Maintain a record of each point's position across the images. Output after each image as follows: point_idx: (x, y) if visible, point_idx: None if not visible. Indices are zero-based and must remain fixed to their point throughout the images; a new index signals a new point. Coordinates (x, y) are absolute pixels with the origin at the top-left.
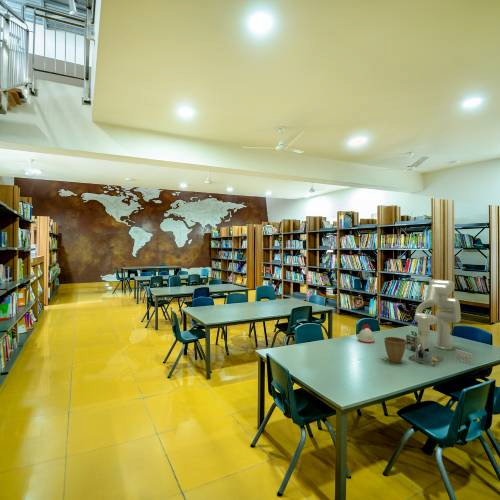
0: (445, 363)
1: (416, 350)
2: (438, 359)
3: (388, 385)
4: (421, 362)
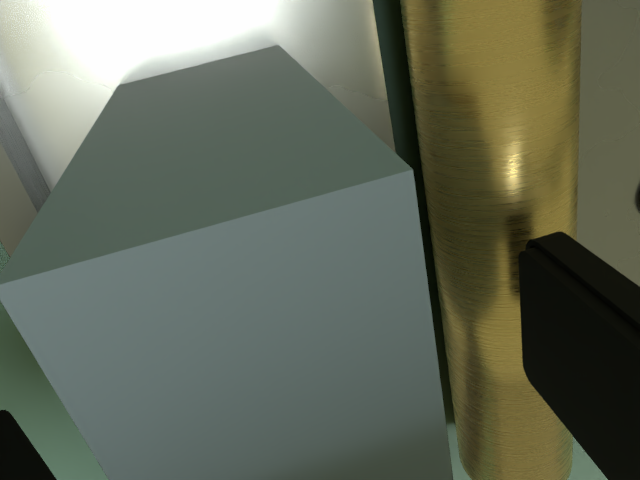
0: (581, 467)
1: (42, 316)
2: None
3: None
4: None
